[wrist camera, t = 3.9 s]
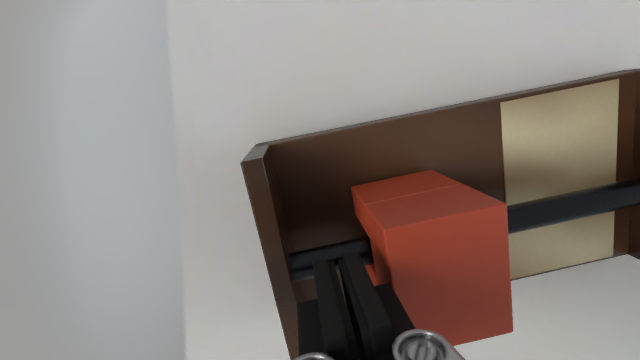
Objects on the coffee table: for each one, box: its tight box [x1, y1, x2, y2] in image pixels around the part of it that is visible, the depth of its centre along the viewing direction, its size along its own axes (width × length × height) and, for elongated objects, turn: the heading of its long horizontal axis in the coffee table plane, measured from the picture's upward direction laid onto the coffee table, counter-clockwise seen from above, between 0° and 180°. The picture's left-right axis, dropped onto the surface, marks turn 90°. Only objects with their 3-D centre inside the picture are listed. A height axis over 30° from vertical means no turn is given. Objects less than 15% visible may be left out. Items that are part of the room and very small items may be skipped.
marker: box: [351, 170, 513, 346], centre depth 13 cm, size 5×4×6 cm
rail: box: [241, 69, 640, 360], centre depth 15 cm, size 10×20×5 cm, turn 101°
